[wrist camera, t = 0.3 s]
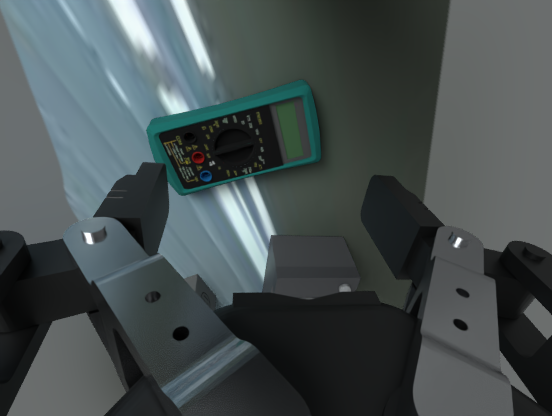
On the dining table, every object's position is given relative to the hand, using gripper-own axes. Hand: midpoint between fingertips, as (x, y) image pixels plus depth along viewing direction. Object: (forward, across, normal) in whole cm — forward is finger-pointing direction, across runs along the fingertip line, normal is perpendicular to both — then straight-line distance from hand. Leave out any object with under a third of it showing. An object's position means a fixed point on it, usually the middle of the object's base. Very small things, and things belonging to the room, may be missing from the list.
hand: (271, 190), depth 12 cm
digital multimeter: (+18, +1, +4) cm, 19 cm away
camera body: (+19, -8, +23) cm, 31 cm away
